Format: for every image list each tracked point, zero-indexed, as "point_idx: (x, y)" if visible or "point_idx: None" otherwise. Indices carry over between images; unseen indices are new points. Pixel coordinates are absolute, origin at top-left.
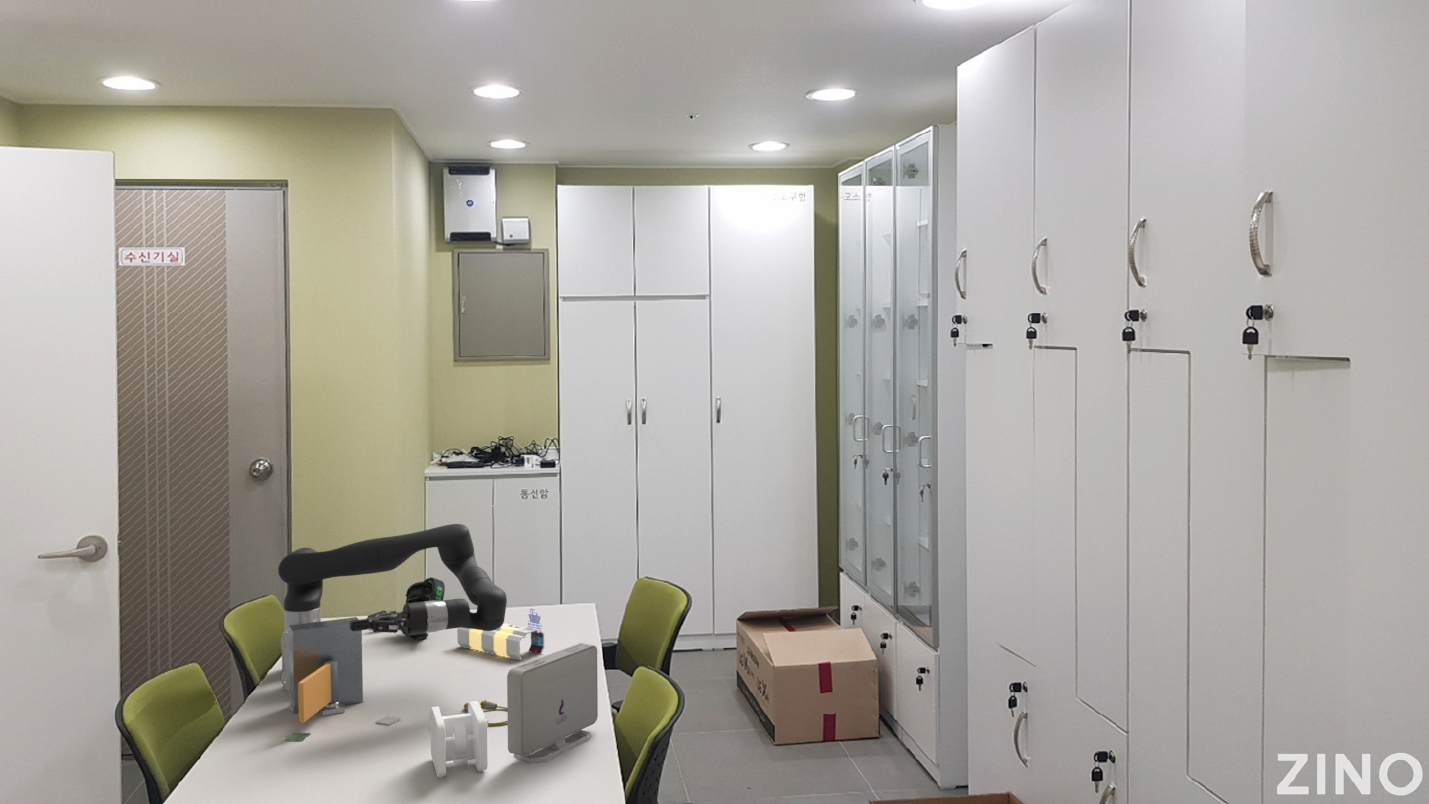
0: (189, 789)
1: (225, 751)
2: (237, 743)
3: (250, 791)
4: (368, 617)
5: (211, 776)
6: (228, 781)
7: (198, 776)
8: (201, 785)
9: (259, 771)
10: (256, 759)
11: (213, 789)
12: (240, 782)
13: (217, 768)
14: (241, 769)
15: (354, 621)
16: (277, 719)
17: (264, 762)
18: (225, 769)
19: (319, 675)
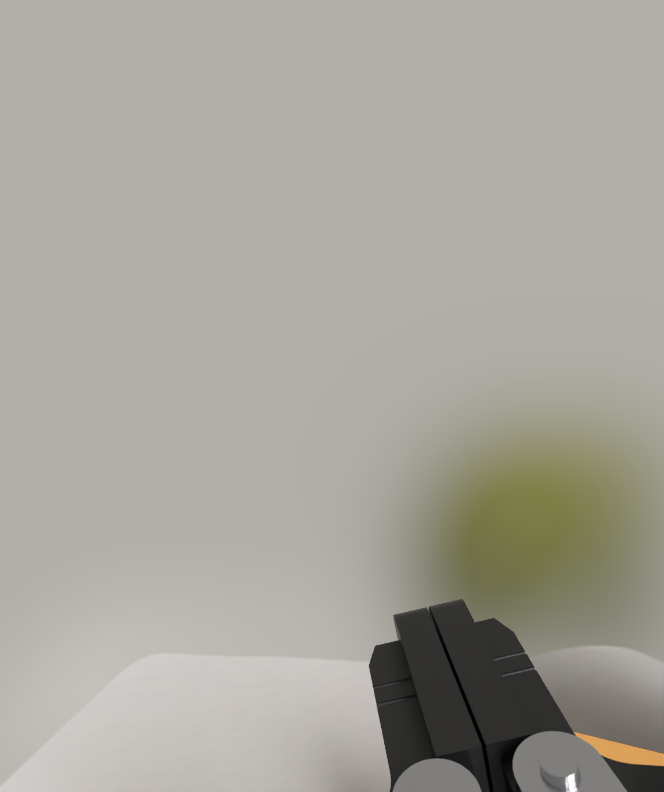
0: (150, 657)
1: (358, 677)
2: None
3: (18, 775)
4: (550, 749)
5: (195, 679)
6: (132, 717)
7: (215, 657)
8: (155, 672)
9: (141, 779)
10: (246, 759)
11: (109, 696)
12: (101, 743)
13: (240, 681)
14: (193, 732)
15: (411, 626)
16: None
17: (205, 784)
18: (221, 698)
19: None
